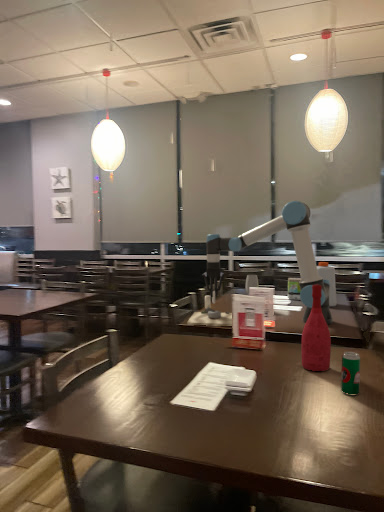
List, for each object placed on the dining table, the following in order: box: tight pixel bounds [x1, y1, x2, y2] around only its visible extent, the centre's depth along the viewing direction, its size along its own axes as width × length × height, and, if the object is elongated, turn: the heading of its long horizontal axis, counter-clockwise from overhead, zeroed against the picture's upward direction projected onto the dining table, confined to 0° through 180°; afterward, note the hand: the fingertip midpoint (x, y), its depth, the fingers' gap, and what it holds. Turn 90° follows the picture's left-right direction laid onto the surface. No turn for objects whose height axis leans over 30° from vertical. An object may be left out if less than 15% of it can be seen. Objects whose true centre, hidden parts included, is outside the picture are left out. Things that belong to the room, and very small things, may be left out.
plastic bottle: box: [316, 261, 337, 308], centre depth 250 cm, size 15×15×28 cm
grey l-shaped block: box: [204, 295, 222, 319], centre depth 211 cm, size 14×7×10 cm, turn 22°
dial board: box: [186, 310, 233, 327], centre depth 209 cm, size 26×26×3 cm
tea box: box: [287, 277, 301, 301], centre depth 273 cm, size 15×10×15 cm
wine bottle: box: [301, 284, 332, 372], centre depth 135 cm, size 10×10×30 cm
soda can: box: [340, 351, 361, 395], centre depth 115 cm, size 5×5×12 cm
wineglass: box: [245, 274, 260, 296], centre depth 239 cm, size 9×9×21 cm
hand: (213, 302), depth 217 cm, fingers closed
